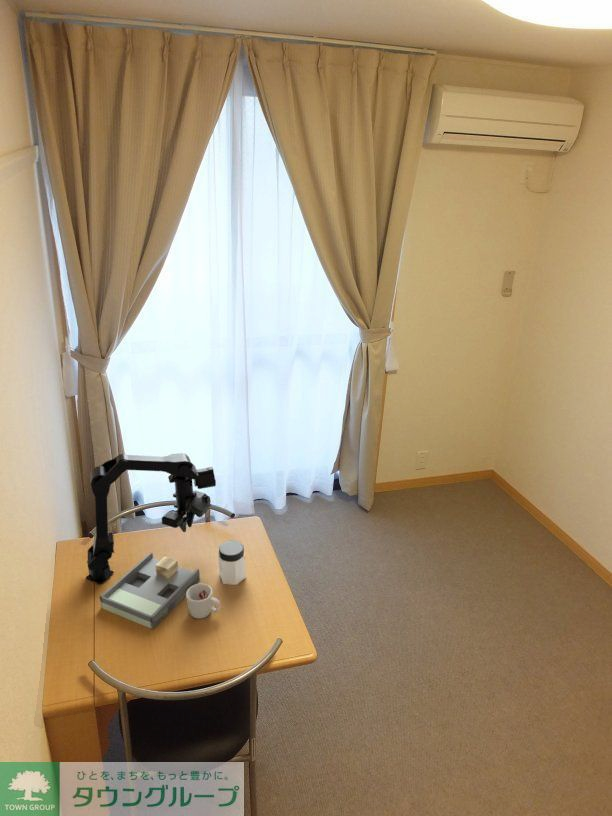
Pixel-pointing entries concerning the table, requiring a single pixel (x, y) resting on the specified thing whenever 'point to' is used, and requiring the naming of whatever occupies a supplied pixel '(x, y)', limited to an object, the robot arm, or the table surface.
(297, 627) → the table surface
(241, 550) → the jar
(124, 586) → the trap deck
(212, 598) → the cup
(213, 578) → the table surface
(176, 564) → the maple block
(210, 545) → the table surface
